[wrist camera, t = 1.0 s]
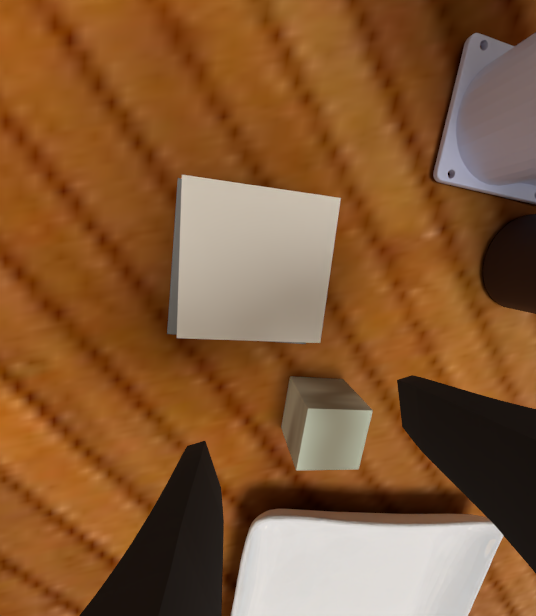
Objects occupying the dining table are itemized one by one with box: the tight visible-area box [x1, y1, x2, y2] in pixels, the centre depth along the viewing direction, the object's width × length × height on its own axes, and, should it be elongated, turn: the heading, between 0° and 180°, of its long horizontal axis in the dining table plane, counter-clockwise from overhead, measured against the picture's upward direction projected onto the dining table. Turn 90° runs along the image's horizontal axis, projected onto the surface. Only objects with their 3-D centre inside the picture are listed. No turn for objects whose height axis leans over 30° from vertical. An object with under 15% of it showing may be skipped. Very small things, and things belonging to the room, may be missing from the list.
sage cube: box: [281, 376, 373, 470], centre depth 18 cm, size 4×4×4 cm
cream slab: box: [177, 175, 341, 343], centre depth 14 cm, size 7×7×2 cm
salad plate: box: [231, 509, 503, 616], centre depth 23 cm, size 21×21×3 cm
